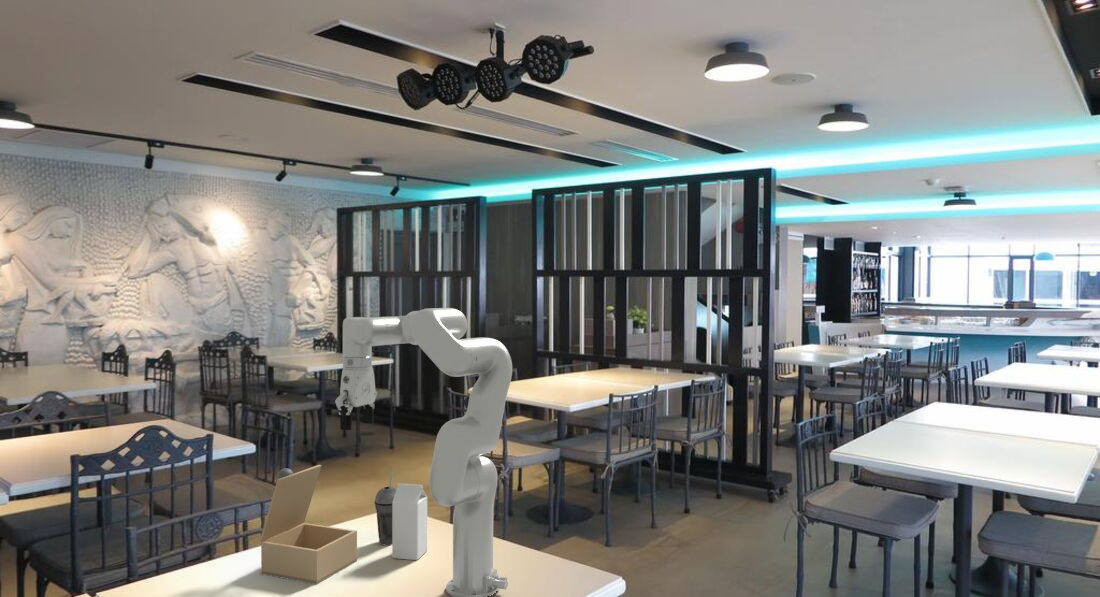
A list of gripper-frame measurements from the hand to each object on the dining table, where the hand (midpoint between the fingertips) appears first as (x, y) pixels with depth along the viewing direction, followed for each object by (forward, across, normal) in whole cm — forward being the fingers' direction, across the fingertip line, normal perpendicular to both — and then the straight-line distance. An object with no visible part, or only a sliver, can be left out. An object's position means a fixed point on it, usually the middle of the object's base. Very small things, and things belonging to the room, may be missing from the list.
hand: (357, 426), depth 197 cm
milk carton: (+34, +4, -14) cm, 37 cm away
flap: (+18, -13, +11) cm, 25 cm away
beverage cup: (+34, +10, -3) cm, 36 cm away
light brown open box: (+34, -13, +5) cm, 37 cm away
